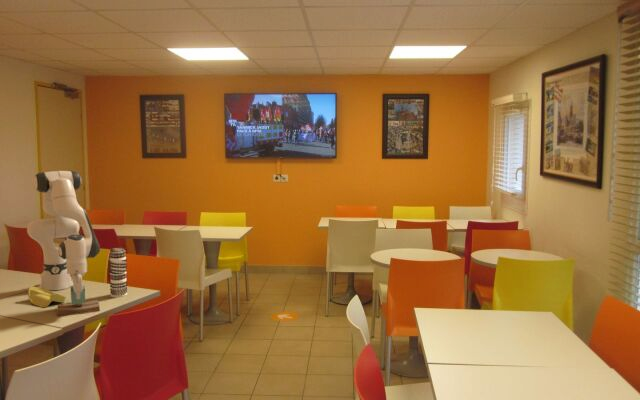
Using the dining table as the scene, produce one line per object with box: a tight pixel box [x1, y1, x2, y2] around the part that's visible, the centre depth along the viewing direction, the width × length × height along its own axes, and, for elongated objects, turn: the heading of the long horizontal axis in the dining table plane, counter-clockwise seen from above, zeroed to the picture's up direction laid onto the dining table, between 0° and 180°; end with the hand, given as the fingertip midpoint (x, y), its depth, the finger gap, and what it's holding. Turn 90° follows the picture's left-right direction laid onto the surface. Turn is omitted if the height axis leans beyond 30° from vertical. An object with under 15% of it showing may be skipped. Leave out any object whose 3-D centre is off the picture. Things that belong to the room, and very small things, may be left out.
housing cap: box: [70, 285, 86, 305], centre depth 242 cm, size 6×6×7 cm
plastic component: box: [27, 285, 66, 308], centre depth 255 cm, size 20×7×10 cm
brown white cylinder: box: [108, 247, 128, 298], centre depth 267 cm, size 9×9×25 cm
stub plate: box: [56, 299, 100, 317], centre depth 243 cm, size 13×18×7 cm
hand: (78, 296), depth 243 cm, fingers closed on housing cap, 6 cm apart
